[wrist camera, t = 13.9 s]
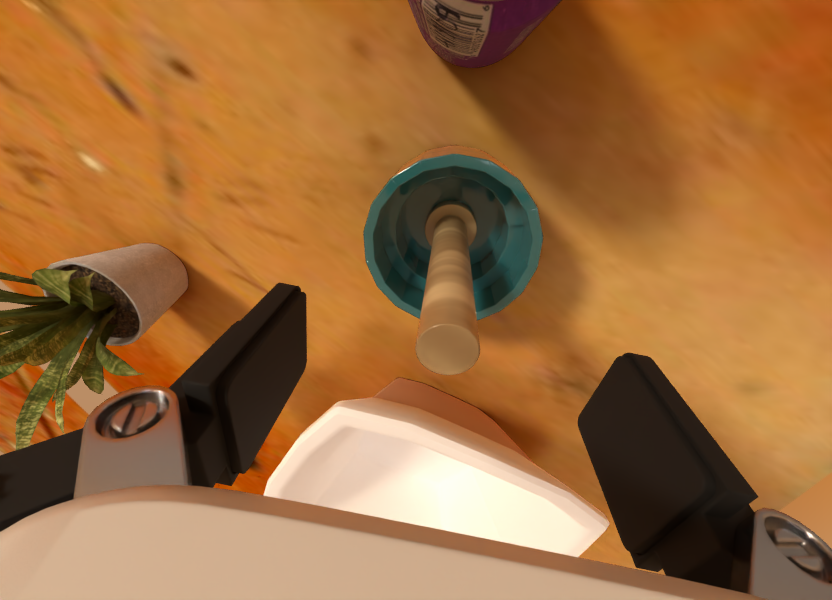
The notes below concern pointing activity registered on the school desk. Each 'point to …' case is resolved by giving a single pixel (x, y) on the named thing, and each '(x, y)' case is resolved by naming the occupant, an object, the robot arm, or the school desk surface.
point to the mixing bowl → (495, 218)
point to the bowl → (433, 472)
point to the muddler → (449, 293)
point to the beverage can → (478, 27)
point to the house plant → (84, 321)
